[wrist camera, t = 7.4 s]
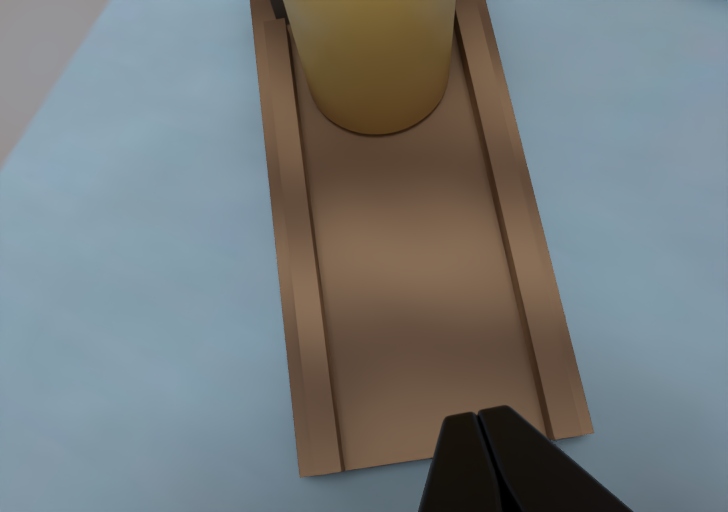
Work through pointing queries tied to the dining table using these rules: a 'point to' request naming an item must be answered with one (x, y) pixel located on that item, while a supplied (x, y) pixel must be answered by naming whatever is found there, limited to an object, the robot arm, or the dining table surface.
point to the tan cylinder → (374, 59)
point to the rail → (410, 262)
